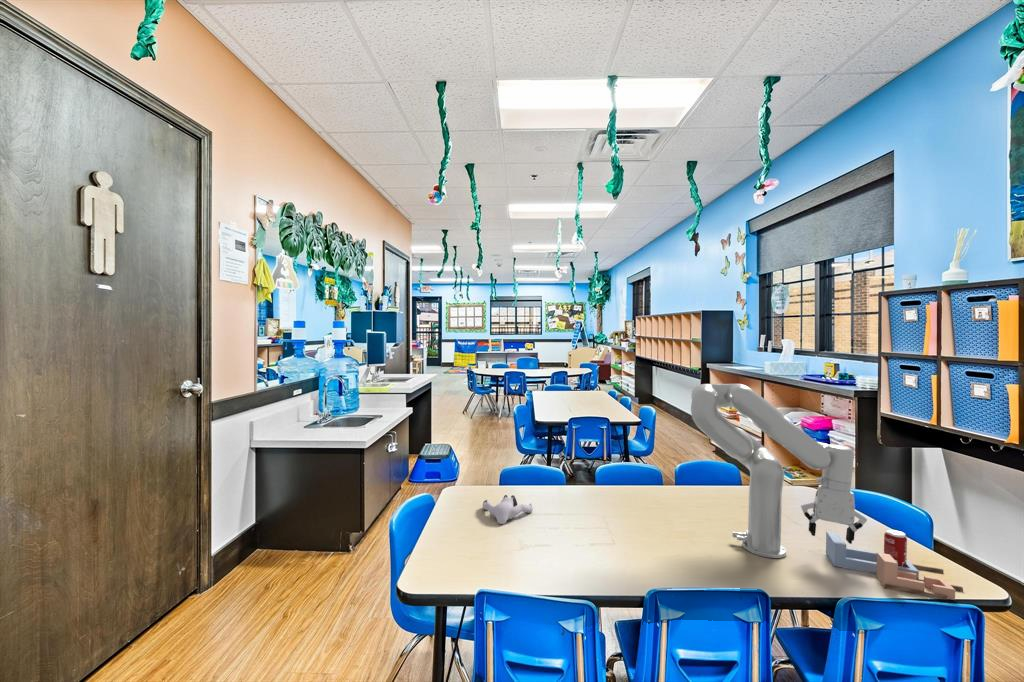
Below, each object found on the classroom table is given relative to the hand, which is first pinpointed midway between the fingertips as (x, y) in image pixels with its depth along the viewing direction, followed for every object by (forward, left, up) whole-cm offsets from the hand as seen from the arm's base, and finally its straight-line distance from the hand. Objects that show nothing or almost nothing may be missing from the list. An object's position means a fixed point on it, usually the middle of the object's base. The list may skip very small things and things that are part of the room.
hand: (830, 538), depth 142 cm
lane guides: (+20, -4, -7) cm, 22 cm away
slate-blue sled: (+10, 0, -7) cm, 12 cm away
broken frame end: (+23, -9, -7) cm, 26 cm away
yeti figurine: (-108, -11, -8) cm, 108 cm away
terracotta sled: (+15, -9, -7) cm, 19 cm away
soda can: (+16, 0, -7) cm, 18 cm away
